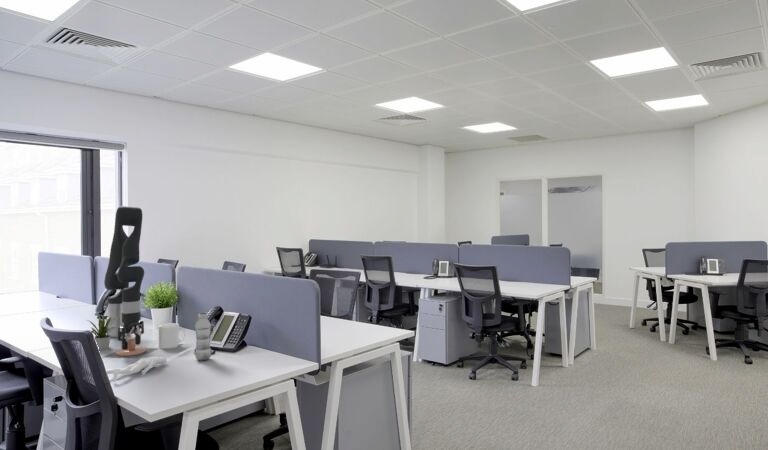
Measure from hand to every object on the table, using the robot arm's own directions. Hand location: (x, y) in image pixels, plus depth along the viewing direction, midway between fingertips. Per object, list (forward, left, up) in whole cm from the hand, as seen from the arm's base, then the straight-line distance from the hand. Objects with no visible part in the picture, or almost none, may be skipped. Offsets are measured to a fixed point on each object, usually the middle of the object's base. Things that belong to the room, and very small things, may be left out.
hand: (131, 347), depth 213 cm
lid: (0, 0, -3) cm, 3 cm away
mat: (0, 0, -3) cm, 3 cm away
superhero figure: (+20, -23, -4) cm, 30 cm away
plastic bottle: (+36, -3, -4) cm, 36 cm away
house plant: (-17, +5, -4) cm, 18 cm away
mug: (+11, +14, -4) cm, 18 cm away
